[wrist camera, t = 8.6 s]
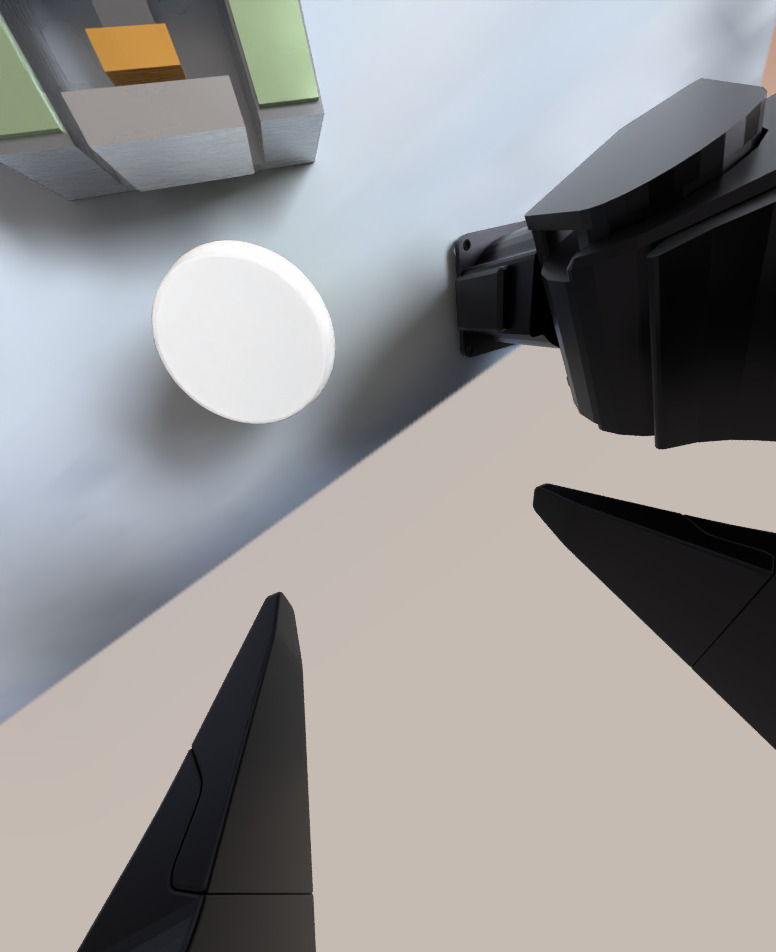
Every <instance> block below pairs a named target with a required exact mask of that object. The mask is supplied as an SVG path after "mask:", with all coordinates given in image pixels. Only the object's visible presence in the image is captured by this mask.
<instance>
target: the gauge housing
mask: <svg viewBox="0 0 776 952" xmlns="http://www.w3.org/2000/svg"><path fill="white" fill-rule="evenodd" d="M148 3H149V5H150V8H151V11H152V13H153V16H154V18H155V21H156V24H162V23H165V24H166V27H167V29H168V32H169V34H170V37H171V39H172V42H173V44H174V47H175V49H176V52H177V54H178V57H179V60H180V62H181V65H182V68H183V70H184V73H185V76H186V78H187V79H196V78H206V77H216V76H226V75H229V78H230V81H231V84H232V87H233V90H234V93H235V96H236V99H237V102H238V106H239V109H240V112H241V115H242V118H243V121H244V124H245V128H246V133H247V138H248V143H249V148H250V153H251V158H252V163H253V168H254V171H260V170H267V169H273V168H279V167H286V166H292V165H298V164H305V163H311V162H315V157H316V152H317V146H318V141H319V136H320V131H321V126H322V121H323V116H324V110H323V106H322V101H321V96H320V92H319V87H318V82H317V78H316V73H315V68H314V64H313V59H312V54H311V50H310V45H309V40H308V36H307V31H306V26H305V22H304V17H303V12H302V8H301V3H300V0H148ZM89 28H103V26H102V24H101V22H100V20H99V17H98V15H97V13H96V11H95V8H94V6H93V4H92V2H91V0H0V162H1V163H3V164H4V165H6V166H8V167H10V168H12V169H13V170H15V171H17V172H19V173H21V174H23V175H24V176H26V177H28V178H30V179H32V180H33V181H35V182H37V183H39V184H41V185H42V186H44V187H46V188H48V189H50V190H51V191H53V192H55V193H57V194H59V195H60V196H62V197H64V198H66V199H68V200H69V201H70V200H77V199H83V198H89V197H96V196H102V195H108V194H115V193H121V192H127V191H134V190H138V189H137V188H135V187H134V186H133V185H132V184H131V183H130V182H129V181H128V180H126V179H125V178H124V177H123V176H122V175H121V174H120V173H119V172H117V171H116V170H115V169H114V168H113V167H112V166H111V165H110V164H108V163H107V162H106V161H105V160H104V159H103V158H102V157H101V156H99V155H98V154H97V153H96V152H95V151H94V150H93V149H92V148H90V146H89V144H88V143H87V141H86V139H85V137H84V135H83V133H82V131H81V130H80V128H79V126H78V124H77V122H76V120H75V118H74V117H73V115H72V113H71V111H70V109H69V107H68V105H67V104H66V102H65V100H64V98H63V96H62V94H61V92H67V91H77V90H87V89H97V88H107V87H116V86H115V85H114V84H113V82H112V81H111V80H110V78H109V77H108V75H107V74H106V73H105V71H104V69H103V67H102V65H101V63H100V60H99V58H98V56H97V54H96V52H95V50H94V48H93V46H92V43H91V41H90V39H89V37H88V35H87V33H86V31H85V29H89Z"/></svg>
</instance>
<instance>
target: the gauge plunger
mask: <svg viewBox="0 0 776 952" xmlns="http://www.w3.org/2000/svg"><path fill="white" fill-rule="evenodd" d="M91 2H92V4H93V6H94V8H95V11H96V13H97V15H98V17H99V20H100V22H101V24H102V26H103V28H89V29H85V31H86V33H87V35H88V37H89V39H90V41H91V43H92V46H93V48H94V50H95V52H96V54H97V56H98V58H99V60H100V63H101V65H102V67H103V69H104V71H105V73H106V74H107V75H108V77H109V78H110V80H111V81H112V82H113V84H114V85H115V86H116V87H107V88H97V89H87V90H77V91H67V92H61V94H62V96H63V98H64V100H65V102H66V104H67V105H68V107H69V109H70V111H71V113H72V115H73V117H74V118H75V120H76V122H77V124H78V126H79V128H80V130H81V131H82V133H83V135H84V137H85V139H86V141H87V143H88V144H89V146H90V148H92V149H93V150H94V151H95V152H96V153H97V154H98V155H99V156H101V157H102V158H103V159H104V160H105V161H106V162H107V163H108V164H110V165H111V166H112V167H113V168H114V169H115V170H116V171H117V172H119V173H120V174H121V175H122V176H123V177H124V178H125V179H126V180H128V181H129V182H130V183H131V184H132V185H133V186H134V187H135V188H137V189H138V190H139V191H140V192H144V191H150V190H157V189H163V188H169V187H175V186H182V185H188V184H194V183H200V182H207V181H213V180H219V179H225V178H232V177H238V176H244V175H251V174H255V173H254V168H253V163H252V158H251V153H250V148H249V143H248V138H247V133H246V128H245V124H244V121H243V118H242V115H241V112H240V109H239V106H238V102H237V99H236V96H235V93H234V90H233V87H232V84H231V81H230V78H229V75H226V76H216V77H206V78H196V79H187V78H186V76H185V73H184V70H183V68H182V65H181V62H180V60H179V57H178V54H177V52H176V49H175V47H174V44H173V42H172V39H171V37H170V34H169V32H168V29H167V27H166V24H165V23H162V24H156V21H155V18H154V16H153V13H152V11H151V8H150V5H149V3H148V0H91Z"/></svg>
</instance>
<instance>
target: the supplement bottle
mask: <svg viewBox="0 0 776 952" xmlns="http://www.w3.org/2000/svg"><path fill="white" fill-rule="evenodd" d="M151 317H152V332H153V337H154V342H155V345H156V348H157V351H158V353H159V356H160V358H161V360H162V362H163V364H164V366H165V368H166V369H167V371H168V373H169V374H170V376H171V377H172V378H173V380H174V381H175V382H176V384H177V385H178V386H179V387H180V388H181V389H182V390H183V391H184V392H185V393H186V394H187V395H188V396H189V397H190V398H191V399H193V400H194V401H195V402H196V403H198V404H199V405H201V406H202V407H204V408H205V409H207V410H209V411H211V412H213V413H214V414H216V415H219V416H221V417H224V418H227V419H230V420H233V421H237V422H243V423H250V424H265V423H272V422H277V421H280V420H284V419H286V418H288V417H291V416H292V415H294V414H296V413H298V412H299V411H300V410H302V409H303V408H304V407H306V406H307V405H309V404H310V403H311V402H312V401H313V400H315V398H316V397H317V396H318V395H319V394H320V393H321V391H322V390H323V388H324V387H325V385H326V383H327V381H328V379H329V377H330V374H331V371H332V368H333V363H334V357H335V337H334V331H333V326H332V322H331V318H330V316H329V313H328V310H327V308H326V306H325V304H324V302H323V300H322V298H321V297H320V295H319V293H318V292H317V290H316V289H315V287H314V286H313V285H312V283H311V282H310V281H309V280H308V278H307V277H306V276H305V275H304V274H303V273H302V272H301V271H300V270H299V269H298V268H296V267H295V266H294V265H293V264H292V263H290V262H289V261H287V260H286V259H285V258H283V257H282V256H280V255H278V254H276V253H274V252H272V251H270V250H268V249H266V248H263V247H260V246H258V245H254V244H251V243H248V242H242V241H234V240H222V241H214V242H210V243H206V244H203V245H200V246H198V247H196V248H194V249H192V250H190V251H189V252H187V253H185V254H184V255H183V256H182V257H180V258H179V259H178V260H177V261H176V262H175V263H174V264H173V266H172V267H171V268H170V270H169V271H168V273H167V275H166V276H165V278H164V279H163V281H162V282H161V284H160V286H159V287H158V290H157V292H156V295H155V298H154V303H153V308H152V316H151Z"/></svg>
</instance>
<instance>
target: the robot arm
mask: <svg viewBox="0 0 776 952" xmlns="http://www.w3.org/2000/svg"><path fill="white" fill-rule="evenodd" d="M766 97H767V90H766V89H765V88H764V87H759V86H752V85H745V84H738V83H731V82H724V81H717V80H710V79H703V78H701V79H699V80H697V81H695V82H693V83H692V84H690V85H688V86H687V87H685V88H684V89H682V90H680V91H679V92H677V93H676V94H674V95H673V96H671V97H670V98H668V99H666V100H665V101H663V102H662V103H660V104H659V105H657V106H655V107H654V108H652V109H651V110H649V111H648V112H646V113H645V114H643V115H641V116H640V117H638V118H637V119H635V120H634V121H632V122H630V123H629V124H627V125H626V126H624V127H623V128H621V129H620V130H619V131H618V132H616V133H615V134H614V135H613V136H612V137H611V138H610V139H609V140H607V141H606V142H605V143H604V144H603V145H602V146H601V147H600V148H599V149H597V150H596V151H595V152H594V153H593V154H592V155H591V156H590V157H589V158H587V159H586V160H585V161H584V162H583V163H582V164H581V165H580V166H579V167H577V168H576V169H575V170H574V171H573V172H572V173H571V174H570V175H568V176H567V177H566V178H565V179H564V180H563V181H562V182H561V183H560V184H558V185H557V186H556V187H555V188H554V189H553V190H552V191H551V192H550V193H548V194H547V195H546V196H545V197H544V198H543V199H542V200H541V201H540V202H538V203H537V204H536V205H535V206H534V207H533V208H532V209H531V210H530V211H528V212H527V213H526V214H525V219H526V221H522V222H518V223H513V224H509V225H504V226H500V227H495V228H491V229H486V230H481V231H477V232H472V233H468V234H465V235H463V236H461V237H459V238H458V240H457V242H456V245H455V253H456V271H457V280H456V282H455V287H456V304H457V320H458V327H459V329H460V343H461V353H462V355H463V356H465V357H474V356H477V355H480V354H483V353H487V352H490V351H493V350H497V349H500V348H503V347H507V346H510V345H513V344H523V345H533V346H542V347H552V348H560V350H561V354H562V358H563V361H564V365H565V369H566V373H567V381H568V385H569V386H570V389H571V392H572V396H573V400H574V403H575V405H576V407H577V409H578V410H579V412H580V414H582V415H583V416H585V417H586V418H588V419H590V420H591V421H593V422H594V423H596V424H598V427H599V429H601V430H602V431H607V432H611V433H616V434H621V435H635V436H653V435H655V447H656V448H658V449H667V448H672V447H677V446H682V445H686V444H691V443H696V442H708V441H721V440H761V441H776V94H774V95H772V96H771V97H768V98H767V99H766ZM464 241H465V242H466V244H467V249H466V251H465V250H464V249H463V243H464ZM469 346H470V347H471V350H470V352H468V351H467V349H468V347H469ZM533 508H534V510H535V511H536V513H537V514H538V515H539V516H540V517H541V519H542V520H543V521H544V522H545V523H546V524H547V526H548V527H549V528H550V529H551V530H552V531H553V533H554V534H555V535H556V536H557V537H558V538H559V540H560V541H561V542H562V543H563V544H564V545H565V546H566V547H567V548H568V549H569V550H570V551H571V552H572V553H573V554H574V555H575V556H576V557H577V558H578V559H579V560H580V561H581V562H582V563H583V564H584V565H585V566H586V567H587V568H589V569H590V571H592V572H593V573H594V574H595V575H596V576H597V577H598V578H599V579H600V580H601V581H602V582H603V583H604V584H605V585H606V586H607V587H608V588H609V589H610V590H611V591H612V592H613V593H614V594H615V595H617V596H618V598H619V599H621V600H622V601H623V602H624V603H625V604H626V605H627V606H628V607H629V608H630V609H631V610H632V611H633V612H634V613H635V614H636V615H637V616H638V617H639V618H640V619H641V620H642V621H643V622H644V623H645V624H646V625H648V627H650V628H651V629H652V630H653V631H654V632H655V633H656V634H657V635H658V636H659V637H660V638H661V639H662V640H663V641H664V642H665V643H666V644H667V645H668V646H669V647H670V648H671V649H672V650H673V651H674V652H675V653H676V654H678V656H680V657H681V658H682V659H683V660H684V661H685V662H686V663H687V664H688V665H689V666H690V667H691V668H692V669H693V670H694V671H695V672H696V673H697V674H698V675H699V676H700V677H701V678H702V679H703V680H704V681H705V682H706V683H707V684H708V685H709V686H710V687H711V688H712V689H713V690H714V691H716V693H718V694H719V695H720V696H721V697H722V698H723V699H724V700H725V701H726V702H727V703H728V704H729V705H730V706H731V707H732V708H733V709H734V710H735V711H736V712H737V713H738V714H739V715H740V716H741V717H742V718H743V719H745V721H747V722H748V723H749V724H750V725H751V726H752V727H753V728H754V729H755V730H756V731H757V732H758V733H759V734H760V735H761V736H762V737H763V738H764V739H765V740H766V741H767V742H768V743H769V744H770V745H771V746H772V747H773V748H774V749H776V533H773V532H767V531H761V530H756V529H751V528H746V527H741V526H736V525H730V524H725V523H721V522H716V521H711V520H707V519H702V518H698V517H693V516H689V515H682V514H680V513H676V512H671V511H667V510H662V509H658V508H654V507H649V506H645V505H640V504H636V503H632V502H627V501H623V500H618V499H614V498H609V497H605V496H601V495H596V494H592V493H588V492H583V491H579V490H575V489H570V488H565V487H561V486H557V485H553V484H543V485H541V486H538V487H536V488H535V491H534V499H533ZM304 710H305V709H304V689H303V669H302V659H301V652H300V646H299V640H298V634H297V627H296V621H295V615H294V610H293V608H292V606H291V604H290V603H289V602H288V600H287V599H286V597H285V596H284V595H283V593H282V592H277V593H275V594H273V595H270V596H268V597H267V598H266V599H265V601H264V603H263V605H262V607H261V609H260V611H259V613H258V615H257V617H256V619H255V621H254V623H253V625H252V627H251V629H250V631H249V633H248V635H247V637H246V639H245V641H244V643H243V645H242V647H241V649H240V651H239V653H238V655H237V657H236V659H235V660H234V662H233V665H232V666H231V668H230V670H229V673H228V674H227V676H226V678H225V680H224V682H223V684H222V686H221V688H220V690H219V692H218V694H217V696H216V698H215V700H214V702H213V704H212V706H211V708H210V710H209V712H208V714H207V716H206V718H205V720H204V722H203V724H202V726H201V728H200V730H199V732H198V734H197V736H196V738H195V740H194V742H193V743H192V749H190V750H189V751H188V753H187V755H186V757H185V759H184V761H183V763H182V765H181V767H180V769H179V771H178V773H177V775H176V777H175V779H174V781H173V782H172V784H171V786H170V788H169V790H168V792H167V794H166V796H165V798H164V800H163V802H162V803H161V805H160V807H159V809H158V811H157V813H156V814H155V816H154V818H153V820H152V821H151V824H150V825H149V827H148V829H147V830H146V832H145V834H144V836H143V838H142V839H141V841H140V843H139V845H138V847H137V848H136V850H135V852H134V854H133V855H132V857H131V859H130V860H129V863H128V864H127V866H126V867H125V869H124V871H123V873H122V875H121V876H120V878H119V880H118V881H117V883H116V885H115V887H114V888H113V890H112V892H111V894H110V895H109V897H108V899H107V900H106V902H105V904H104V906H103V907H102V909H101V911H100V913H99V914H98V916H97V918H96V919H95V921H94V923H93V925H92V926H91V928H90V930H89V932H88V933H87V935H86V937H85V939H84V940H83V942H82V944H81V945H80V947H79V949H78V951H77V952H316V945H315V923H314V902H313V894H312V892H313V883H312V862H311V841H310V819H309V796H308V774H307V752H306V733H305V732H306V731H305V711H304Z"/></svg>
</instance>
